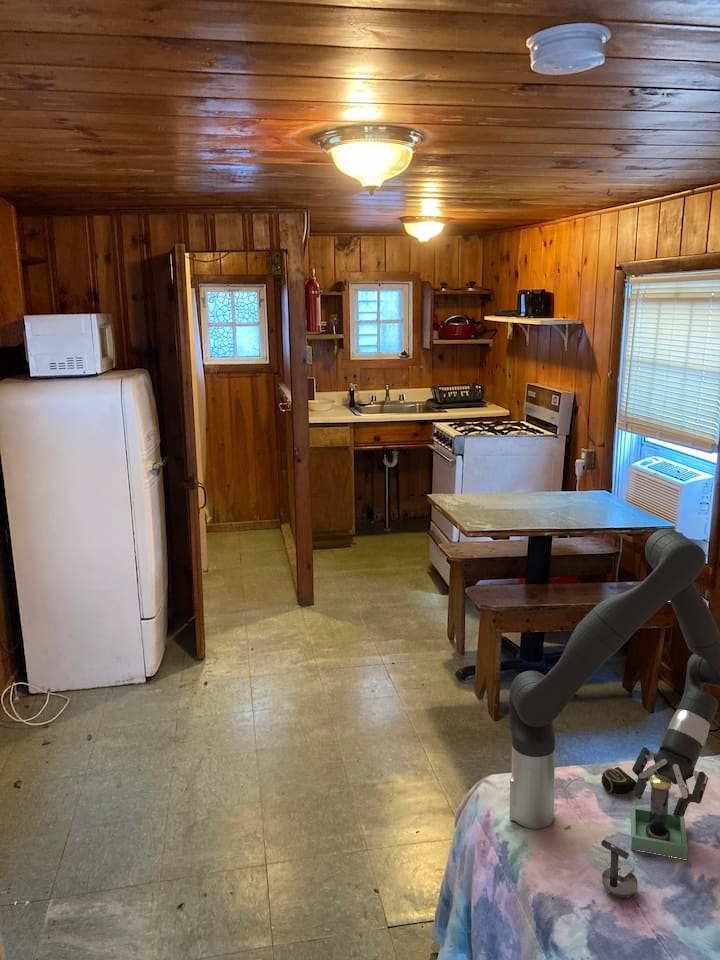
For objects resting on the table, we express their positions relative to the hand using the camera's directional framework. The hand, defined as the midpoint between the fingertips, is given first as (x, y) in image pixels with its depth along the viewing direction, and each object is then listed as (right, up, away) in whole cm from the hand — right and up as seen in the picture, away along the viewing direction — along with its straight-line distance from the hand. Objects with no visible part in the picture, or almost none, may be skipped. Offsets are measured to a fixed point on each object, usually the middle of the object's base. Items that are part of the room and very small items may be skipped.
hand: (656, 807), depth 154 cm
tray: (+1, -8, +2) cm, 8 cm away
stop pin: (+1, -7, +2) cm, 8 cm away
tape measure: (-1, -5, +20) cm, 21 cm away
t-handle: (-12, -11, -12) cm, 20 cm away
